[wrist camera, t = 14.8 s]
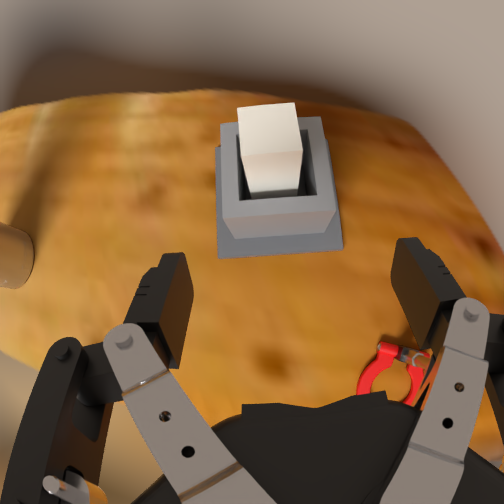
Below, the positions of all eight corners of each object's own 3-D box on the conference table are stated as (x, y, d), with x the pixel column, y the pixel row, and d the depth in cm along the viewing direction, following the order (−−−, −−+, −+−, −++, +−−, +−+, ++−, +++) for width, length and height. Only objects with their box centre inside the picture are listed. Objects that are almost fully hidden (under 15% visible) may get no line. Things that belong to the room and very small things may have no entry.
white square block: (255, 213, 36) (240, 156, 22) (252, 178, 37) (237, 108, 23) (294, 210, 36) (302, 150, 22) (290, 174, 37) (294, 102, 23)
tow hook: (405, 423, 31) (432, 353, 32) (449, 468, 18) (491, 373, 19) (345, 411, 32) (372, 337, 33) (370, 462, 20) (415, 356, 20)
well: (219, 259, 36) (200, 242, 28) (216, 150, 39) (201, 111, 30) (342, 250, 35) (360, 230, 27) (326, 142, 38) (336, 101, 29)
